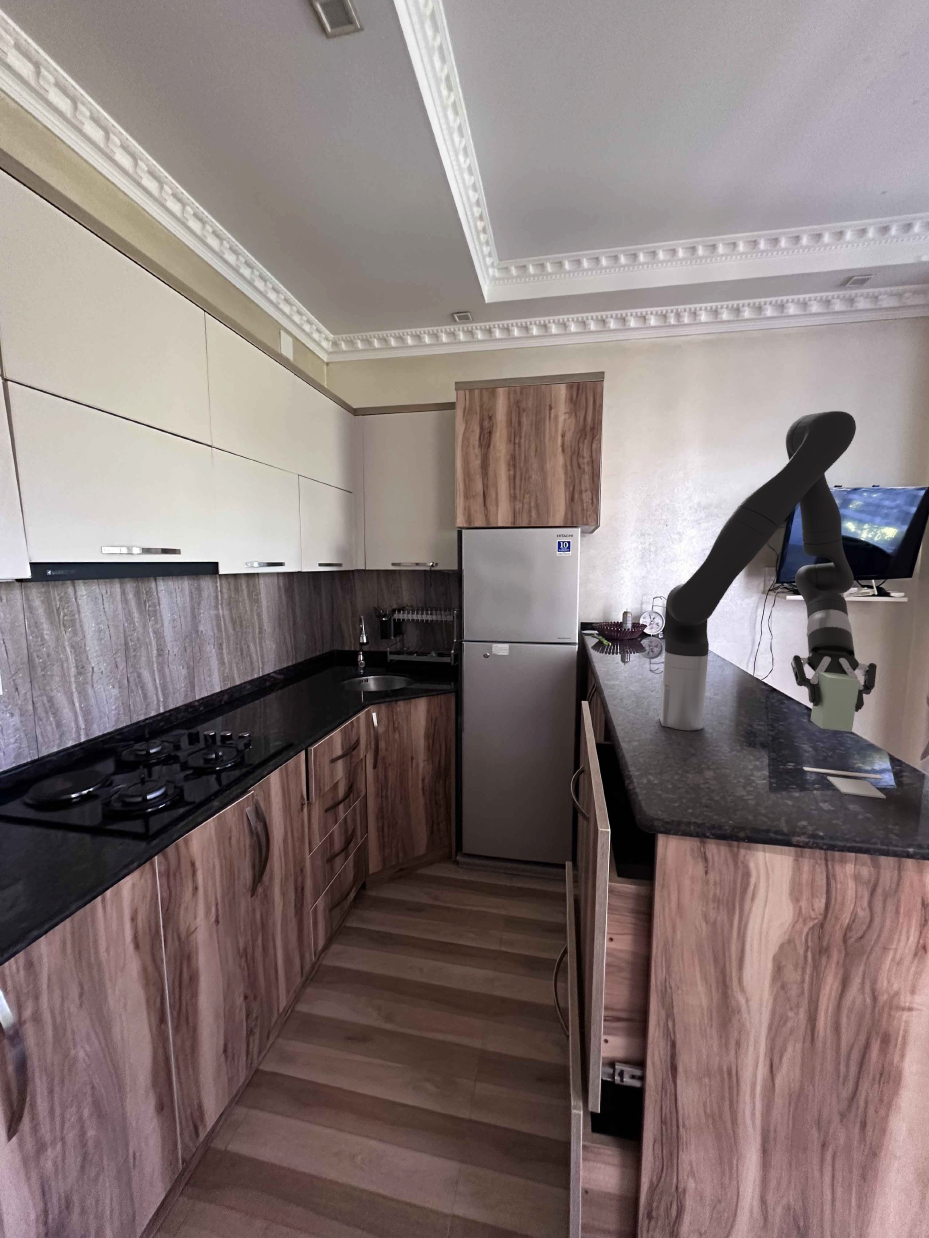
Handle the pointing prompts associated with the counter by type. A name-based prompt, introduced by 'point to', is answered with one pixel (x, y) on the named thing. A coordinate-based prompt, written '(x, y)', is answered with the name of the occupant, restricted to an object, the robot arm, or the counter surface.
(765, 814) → the counter surface
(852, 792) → the mat
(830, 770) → the pale grey thin rod
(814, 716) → the sage block
